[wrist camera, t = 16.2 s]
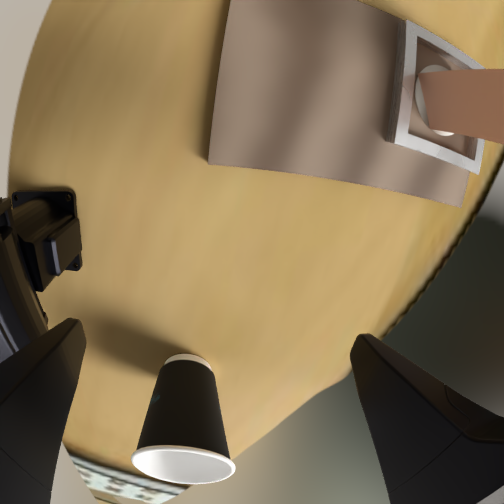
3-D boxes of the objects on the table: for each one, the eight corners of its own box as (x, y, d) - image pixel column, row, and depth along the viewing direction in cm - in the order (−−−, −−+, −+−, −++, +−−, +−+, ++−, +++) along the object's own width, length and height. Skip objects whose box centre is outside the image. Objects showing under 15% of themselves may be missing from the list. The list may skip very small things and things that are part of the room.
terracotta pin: (429, 129, 18) (546, 157, 8) (417, 73, 16) (535, 70, 6) (464, 123, 17) (569, 148, 8) (454, 72, 16) (561, 76, 6)
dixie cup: (134, 348, 25) (110, 448, 15) (213, 334, 25) (216, 445, 15) (167, 397, 28) (159, 485, 18) (236, 386, 28) (246, 480, 18)
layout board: (208, 162, 19) (207, 167, 17) (235, -21, 13) (237, -35, 11) (454, 204, 22) (469, 212, 20) (474, 67, 16) (490, 67, 14)
